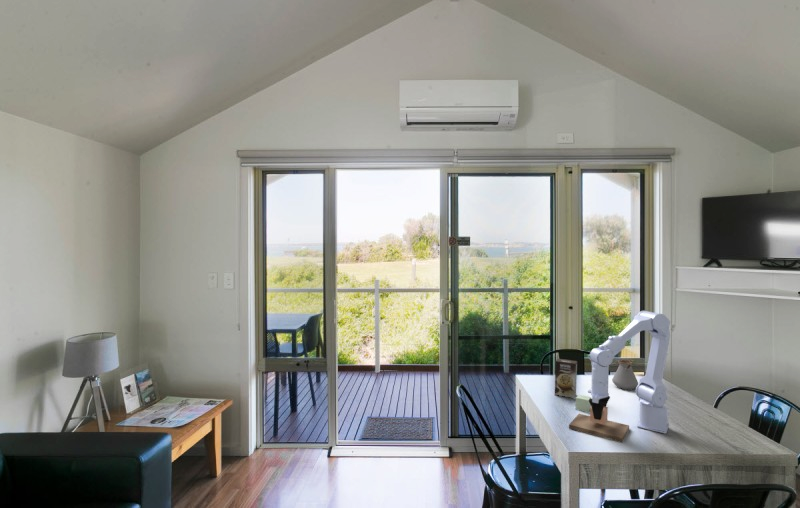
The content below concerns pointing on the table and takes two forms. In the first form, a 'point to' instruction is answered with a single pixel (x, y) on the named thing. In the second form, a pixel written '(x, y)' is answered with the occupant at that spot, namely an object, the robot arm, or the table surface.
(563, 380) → the coffee box
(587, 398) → the sage block
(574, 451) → the table surface
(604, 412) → the terracotta block
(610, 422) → the walnut base
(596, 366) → the robot arm
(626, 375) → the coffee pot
